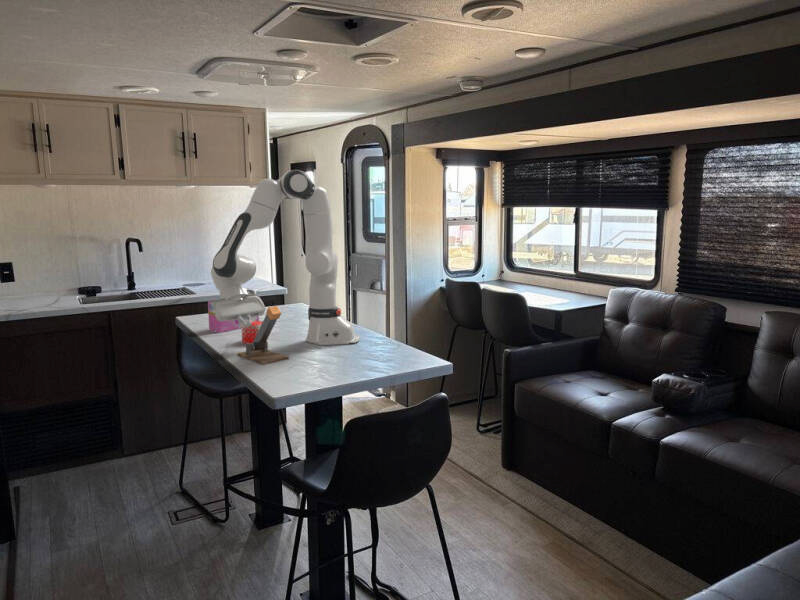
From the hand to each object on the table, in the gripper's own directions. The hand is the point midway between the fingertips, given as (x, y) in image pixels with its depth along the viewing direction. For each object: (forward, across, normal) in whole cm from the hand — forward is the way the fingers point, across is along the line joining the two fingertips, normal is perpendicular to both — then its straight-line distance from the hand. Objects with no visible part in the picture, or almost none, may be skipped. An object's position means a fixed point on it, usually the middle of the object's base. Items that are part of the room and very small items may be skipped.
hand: (247, 325), depth 230 cm
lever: (+9, 0, +1) cm, 9 cm away
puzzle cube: (-2, +12, +18) cm, 21 cm away
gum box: (-23, +19, +38) cm, 49 cm away
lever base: (+14, 0, 0) cm, 14 cm away
